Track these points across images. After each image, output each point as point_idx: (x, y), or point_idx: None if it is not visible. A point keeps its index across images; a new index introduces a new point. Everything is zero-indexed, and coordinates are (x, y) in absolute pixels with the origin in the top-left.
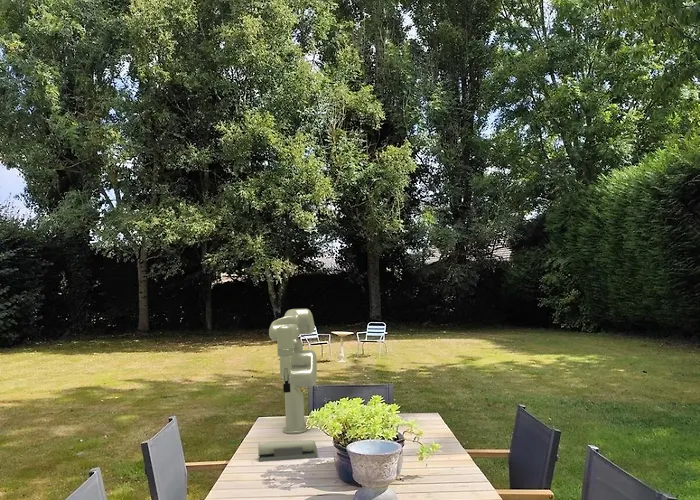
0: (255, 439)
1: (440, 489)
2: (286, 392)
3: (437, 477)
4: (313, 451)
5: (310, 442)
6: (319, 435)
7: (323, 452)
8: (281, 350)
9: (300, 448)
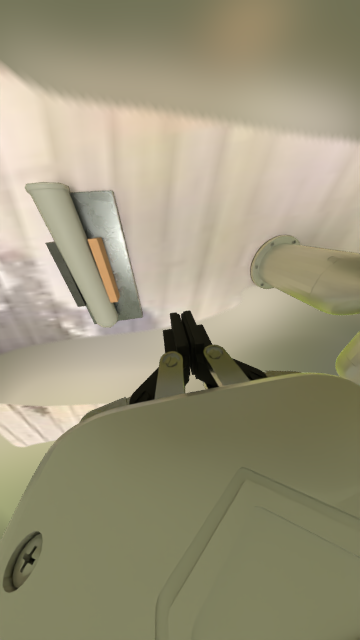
0: (246, 153)
1: (10, 427)
2: (171, 325)
3: (46, 423)
4: None
5: (97, 322)
6: (223, 310)
7: (125, 325)
8: None
9: (77, 303)
